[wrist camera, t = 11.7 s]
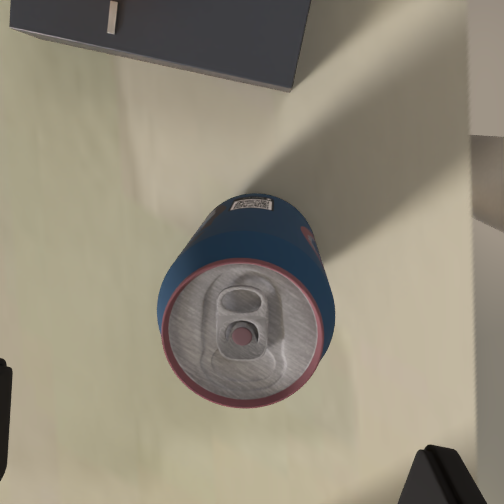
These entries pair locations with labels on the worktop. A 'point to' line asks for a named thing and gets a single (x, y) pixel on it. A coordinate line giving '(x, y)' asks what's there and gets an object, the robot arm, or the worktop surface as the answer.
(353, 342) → the worktop surface
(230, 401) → the soda can
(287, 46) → the cooker panel
